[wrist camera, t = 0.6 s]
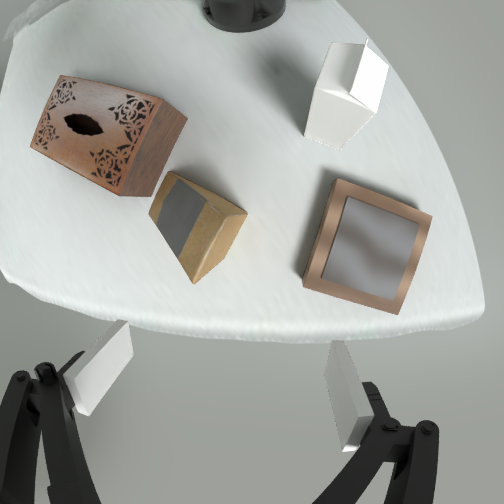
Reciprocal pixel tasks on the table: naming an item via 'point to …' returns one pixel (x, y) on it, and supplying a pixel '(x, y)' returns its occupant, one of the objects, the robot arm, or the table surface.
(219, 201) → the sandwich container
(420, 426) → the robot arm
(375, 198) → the walnut plinth
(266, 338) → the table surface
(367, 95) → the milk
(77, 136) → the tissue box cover
